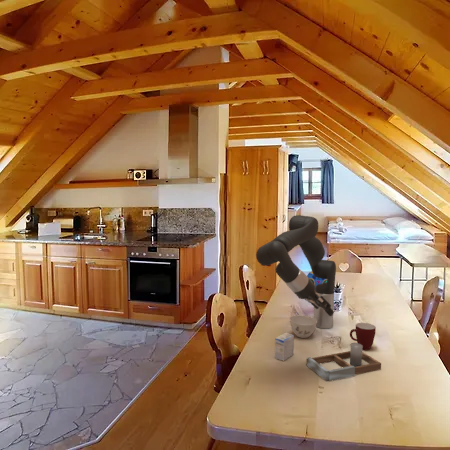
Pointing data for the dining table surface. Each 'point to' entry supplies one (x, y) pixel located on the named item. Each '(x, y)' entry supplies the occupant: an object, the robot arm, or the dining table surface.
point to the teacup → (303, 325)
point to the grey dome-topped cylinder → (356, 354)
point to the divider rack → (341, 372)
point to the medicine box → (284, 346)
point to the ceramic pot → (316, 279)
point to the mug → (364, 334)
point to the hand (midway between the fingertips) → (325, 310)
